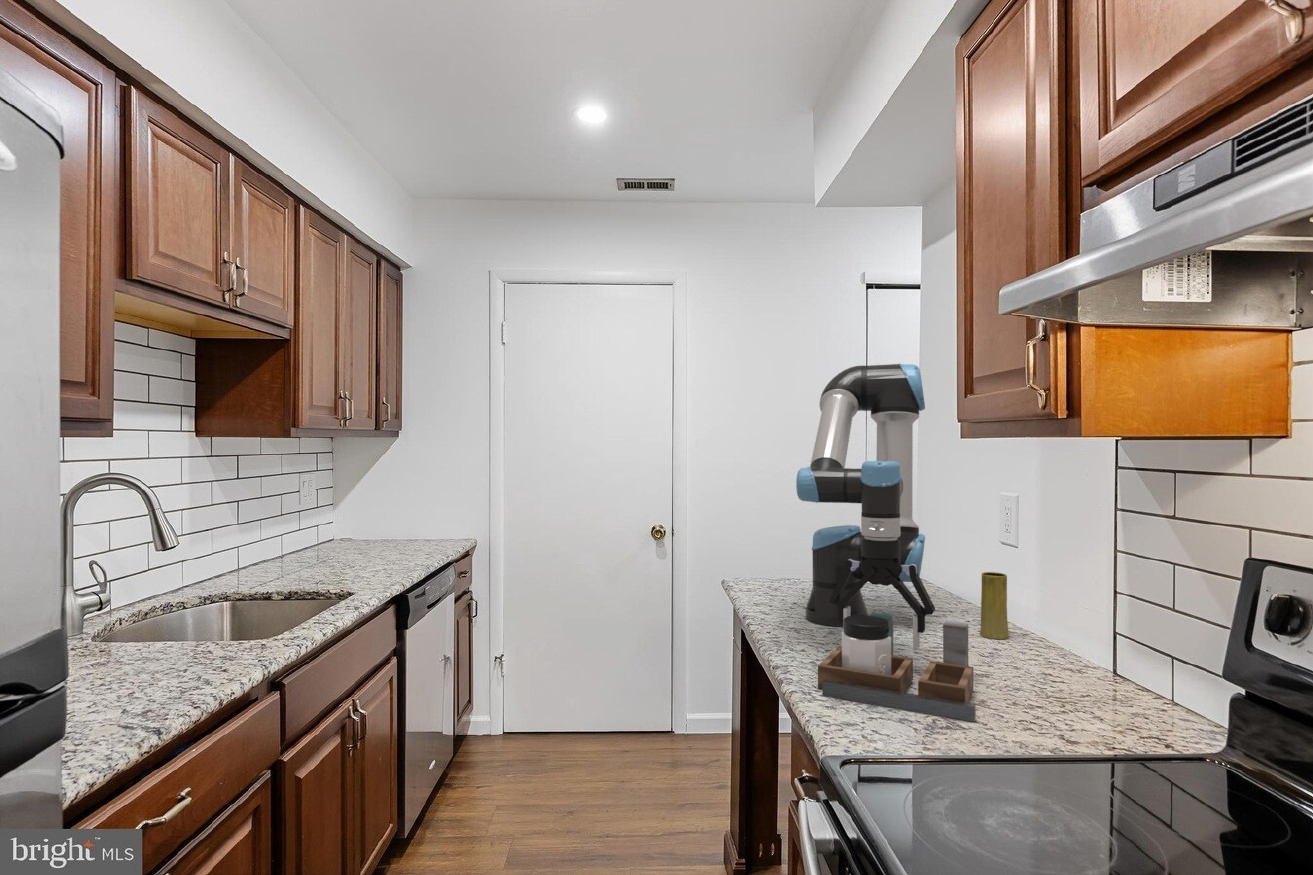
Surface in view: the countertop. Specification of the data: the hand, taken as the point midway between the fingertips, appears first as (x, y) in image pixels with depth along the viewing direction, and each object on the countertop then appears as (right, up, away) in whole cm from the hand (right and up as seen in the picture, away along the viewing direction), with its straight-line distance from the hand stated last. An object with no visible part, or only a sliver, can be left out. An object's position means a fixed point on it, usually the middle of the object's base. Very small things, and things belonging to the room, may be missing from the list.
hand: (880, 643), depth 146 cm
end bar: (-4, -4, -22) cm, 23 cm away
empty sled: (+8, -4, -14) cm, 17 cm away
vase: (+33, -4, +21) cm, 39 cm away
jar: (-6, -5, -11) cm, 13 cm away
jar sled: (-4, -4, -7) cm, 9 cm away
